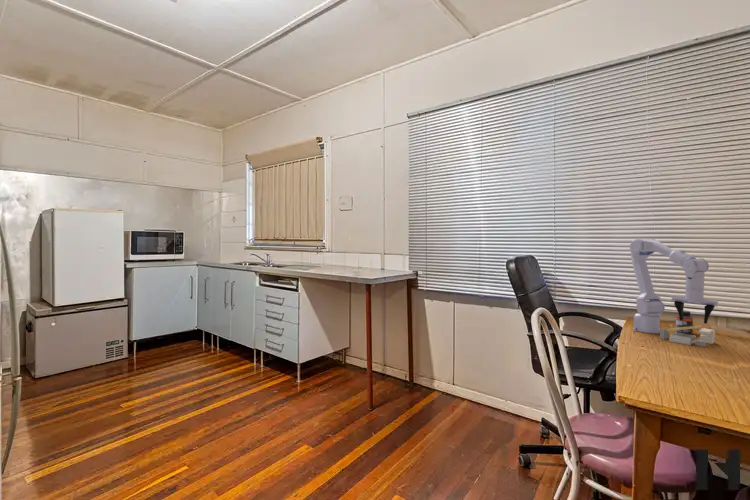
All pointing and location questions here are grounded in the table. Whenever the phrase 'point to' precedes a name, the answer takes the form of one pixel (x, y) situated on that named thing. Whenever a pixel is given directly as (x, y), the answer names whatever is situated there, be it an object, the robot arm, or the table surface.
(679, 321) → the supplement bottle
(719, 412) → the table surface
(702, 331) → the white l-shaped block
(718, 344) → the table surface
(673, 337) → the heatsink
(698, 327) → the strap
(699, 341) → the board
